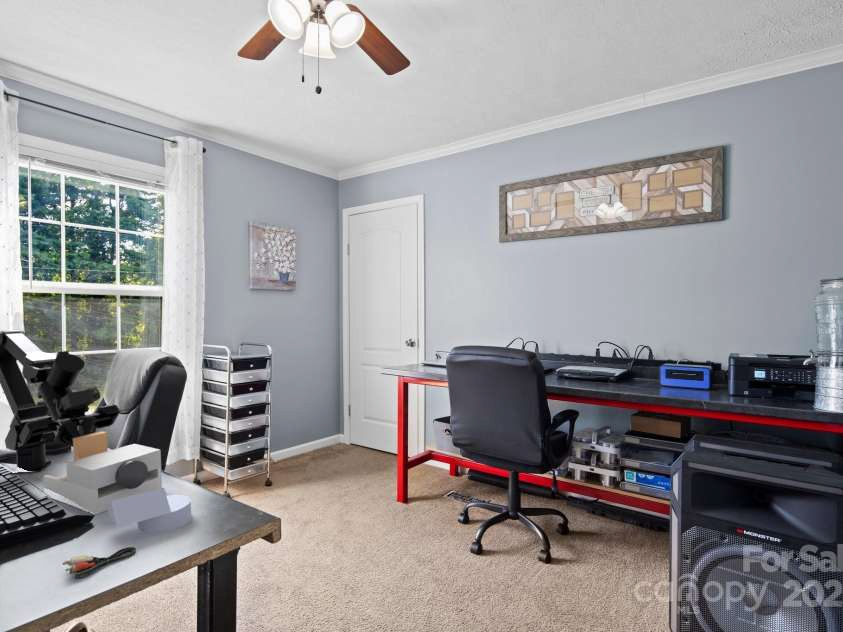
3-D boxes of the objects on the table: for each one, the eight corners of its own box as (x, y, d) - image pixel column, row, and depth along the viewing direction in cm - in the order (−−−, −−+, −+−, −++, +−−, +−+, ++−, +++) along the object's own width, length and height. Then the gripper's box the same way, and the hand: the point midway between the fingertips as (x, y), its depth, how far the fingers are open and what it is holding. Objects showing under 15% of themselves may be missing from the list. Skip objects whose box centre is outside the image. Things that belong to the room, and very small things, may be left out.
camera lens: (54, 457, 129) (52, 403, 129) (30, 456, 131) (28, 402, 130) (81, 448, 137) (79, 397, 137) (58, 446, 139) (56, 396, 138)
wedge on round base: (118, 547, 82) (197, 521, 90) (116, 508, 81) (196, 487, 90) (108, 528, 88) (183, 507, 97) (106, 493, 88) (182, 474, 97)
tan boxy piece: (60, 482, 102) (58, 441, 102) (116, 465, 113) (114, 428, 112) (80, 489, 99) (77, 446, 98) (136, 471, 109) (134, 432, 108)
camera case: (44, 496, 104) (42, 455, 103) (111, 474, 116) (110, 438, 116) (100, 517, 93) (98, 471, 93) (167, 490, 105) (165, 450, 105)
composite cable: (134, 550, 81) (134, 536, 81) (139, 562, 77) (138, 547, 77) (62, 572, 75) (61, 557, 75) (64, 586, 71) (63, 570, 71)
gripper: (22, 384, 101) (51, 442, 96) (114, 371, 118) (142, 420, 113) (7, 417, 105) (34, 474, 100) (98, 400, 122) (125, 448, 117)
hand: (88, 452), depth 107 cm, fingers closed, pressing on tan boxy piece
